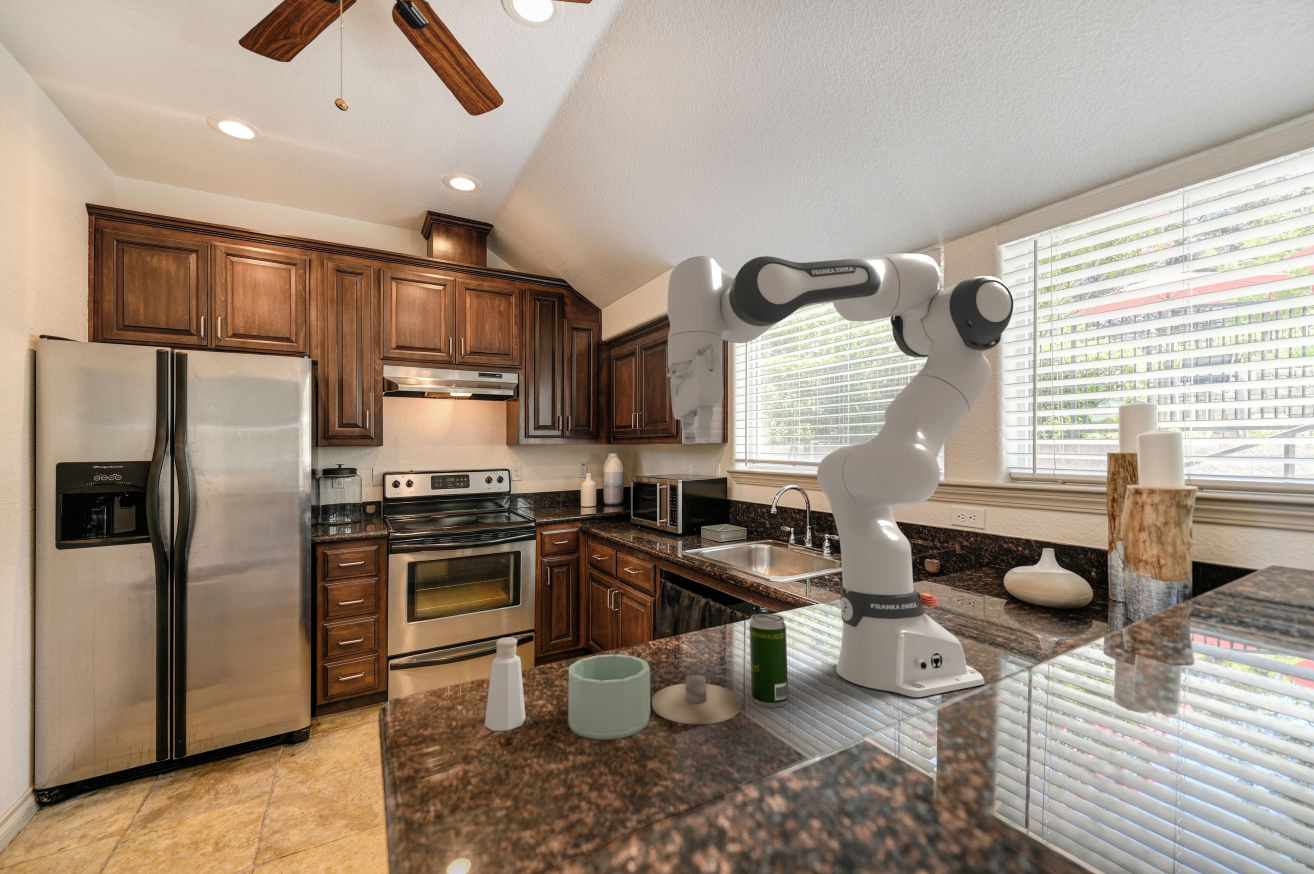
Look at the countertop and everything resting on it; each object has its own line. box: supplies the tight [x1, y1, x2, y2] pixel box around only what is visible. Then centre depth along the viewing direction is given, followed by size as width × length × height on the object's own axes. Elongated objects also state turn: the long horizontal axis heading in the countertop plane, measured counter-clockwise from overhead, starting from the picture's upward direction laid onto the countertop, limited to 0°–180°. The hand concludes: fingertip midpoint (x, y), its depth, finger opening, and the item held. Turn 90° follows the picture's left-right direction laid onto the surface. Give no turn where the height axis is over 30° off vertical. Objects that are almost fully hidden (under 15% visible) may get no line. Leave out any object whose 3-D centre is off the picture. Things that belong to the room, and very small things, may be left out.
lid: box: [651, 674, 742, 725], centre depth 77 cm, size 13×13×4 cm
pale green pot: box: [567, 653, 651, 741], centre depth 72 cm, size 11×11×7 cm
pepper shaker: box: [484, 636, 526, 732], centre depth 72 cm, size 5×5×11 cm
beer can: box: [749, 613, 789, 708], centre depth 78 cm, size 5×5×12 cm
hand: (696, 441), depth 84 cm, fingers open, 8 cm apart
